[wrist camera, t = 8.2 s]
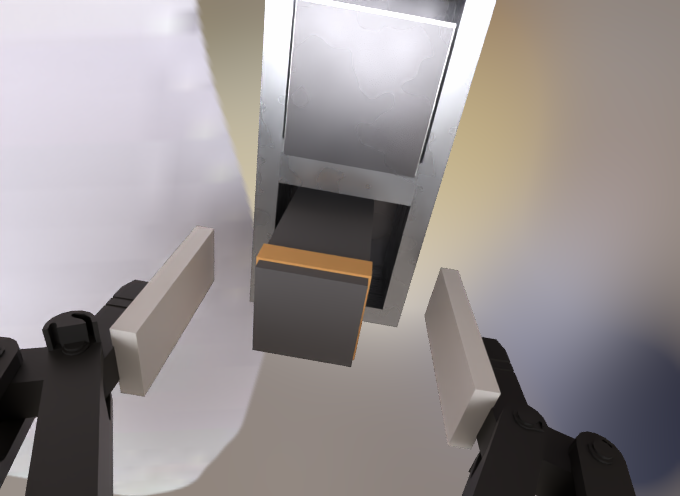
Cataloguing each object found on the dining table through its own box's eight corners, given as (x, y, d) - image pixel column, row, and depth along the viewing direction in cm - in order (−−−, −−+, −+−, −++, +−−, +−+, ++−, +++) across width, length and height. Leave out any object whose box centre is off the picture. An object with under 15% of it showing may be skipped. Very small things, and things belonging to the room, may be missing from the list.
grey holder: (271, 253, 26) (217, 373, 17) (296, -53, 18) (217, -121, 9) (393, 275, 26) (401, 405, 17) (474, -20, 18) (568, -57, 9)
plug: (301, 176, 22) (252, 264, 14) (377, 189, 22) (371, 284, 14) (295, 242, 24) (250, 351, 16) (364, 254, 24) (353, 369, 16)
